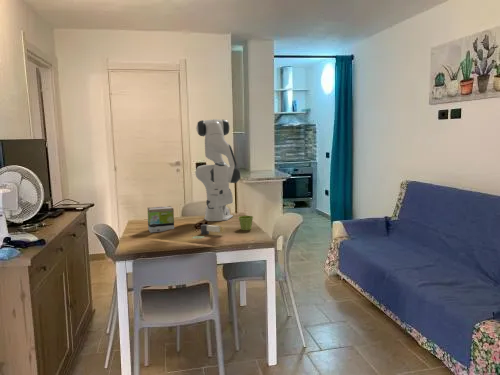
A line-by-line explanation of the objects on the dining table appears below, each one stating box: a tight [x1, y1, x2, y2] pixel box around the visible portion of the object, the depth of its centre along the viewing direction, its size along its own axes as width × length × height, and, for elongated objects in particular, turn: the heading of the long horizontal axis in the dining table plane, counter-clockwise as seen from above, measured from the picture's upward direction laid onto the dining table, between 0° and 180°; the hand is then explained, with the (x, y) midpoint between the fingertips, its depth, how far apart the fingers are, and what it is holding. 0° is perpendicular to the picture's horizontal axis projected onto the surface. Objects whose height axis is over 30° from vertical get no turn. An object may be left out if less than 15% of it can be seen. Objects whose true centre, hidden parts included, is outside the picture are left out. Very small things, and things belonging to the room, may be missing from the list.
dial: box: [191, 233, 223, 240], centre depth 238 cm, size 25×25×1 cm
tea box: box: [147, 205, 175, 233], centre depth 253 cm, size 15×10×15 cm, turn 112°
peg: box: [200, 224, 224, 235], centre depth 235 cm, size 15×5×5 cm, turn 62°
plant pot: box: [237, 215, 254, 231], centre depth 247 cm, size 9×9×9 cm
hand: (222, 213), depth 238 cm, fingers closed
